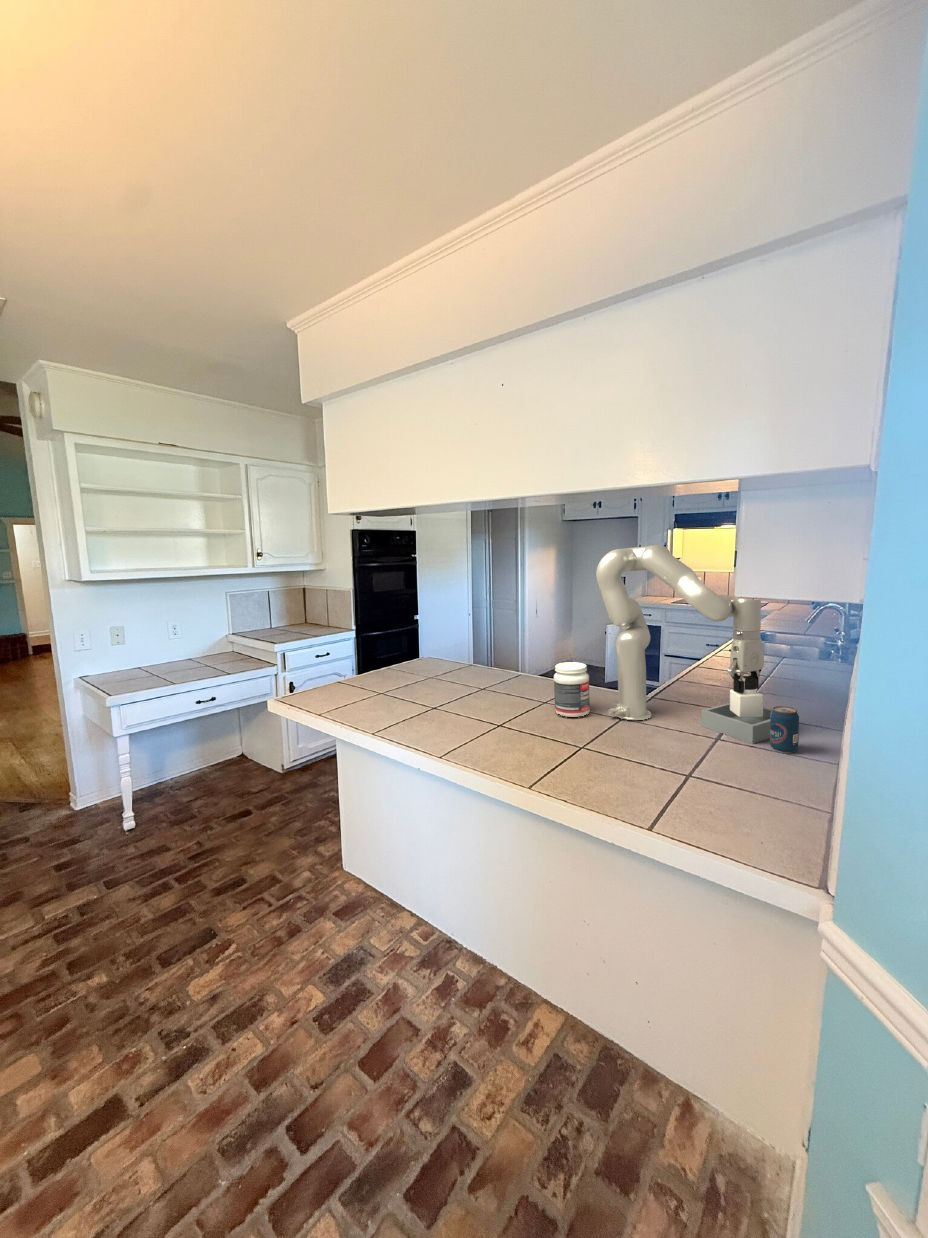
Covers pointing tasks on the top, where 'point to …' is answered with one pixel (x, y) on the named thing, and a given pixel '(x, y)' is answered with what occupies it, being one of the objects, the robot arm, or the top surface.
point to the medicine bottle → (747, 700)
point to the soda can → (784, 729)
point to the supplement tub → (571, 689)
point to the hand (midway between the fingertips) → (745, 689)
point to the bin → (737, 723)
